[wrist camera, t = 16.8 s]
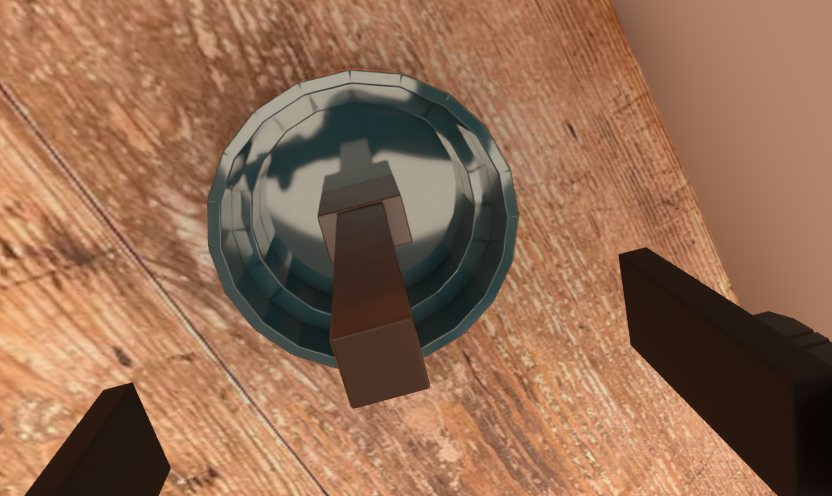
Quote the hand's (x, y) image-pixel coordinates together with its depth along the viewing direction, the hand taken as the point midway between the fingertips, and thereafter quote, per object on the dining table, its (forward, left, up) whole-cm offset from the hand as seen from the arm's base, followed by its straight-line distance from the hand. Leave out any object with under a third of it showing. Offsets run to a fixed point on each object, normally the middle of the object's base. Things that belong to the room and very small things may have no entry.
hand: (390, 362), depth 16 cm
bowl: (0, 0, -18) cm, 18 cm away
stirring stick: (0, 0, -18) cm, 18 cm away
